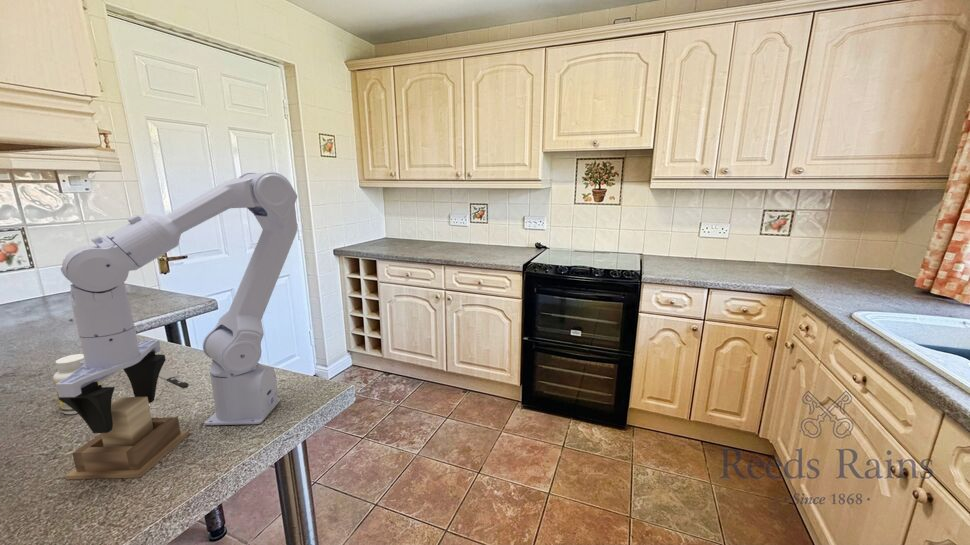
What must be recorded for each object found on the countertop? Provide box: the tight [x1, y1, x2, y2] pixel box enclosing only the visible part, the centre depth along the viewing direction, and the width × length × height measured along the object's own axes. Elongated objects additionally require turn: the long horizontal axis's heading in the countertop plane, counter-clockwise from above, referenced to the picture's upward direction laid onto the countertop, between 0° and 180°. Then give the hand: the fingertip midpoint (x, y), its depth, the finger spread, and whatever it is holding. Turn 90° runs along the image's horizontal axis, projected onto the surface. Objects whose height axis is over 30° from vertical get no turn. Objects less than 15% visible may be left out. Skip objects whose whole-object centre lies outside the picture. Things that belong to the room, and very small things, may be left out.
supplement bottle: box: [52, 353, 100, 415], centre depth 71 cm, size 5×5×10 cm
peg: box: [100, 396, 154, 447], centre depth 58 cm, size 4×4×8 cm
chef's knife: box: [158, 369, 189, 389], centre depth 84 cm, size 19×1×3 cm
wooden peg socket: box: [64, 416, 190, 481], centre depth 59 cm, size 10×10×4 cm
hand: (125, 415), depth 58 cm, fingers open, 7 cm apart
